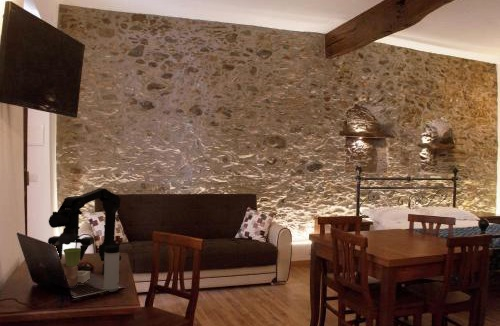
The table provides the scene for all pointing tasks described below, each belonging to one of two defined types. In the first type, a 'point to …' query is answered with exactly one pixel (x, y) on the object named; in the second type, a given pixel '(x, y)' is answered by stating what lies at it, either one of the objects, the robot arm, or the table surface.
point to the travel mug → (111, 267)
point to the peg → (71, 275)
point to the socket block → (83, 276)
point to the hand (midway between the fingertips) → (70, 259)
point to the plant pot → (72, 256)
